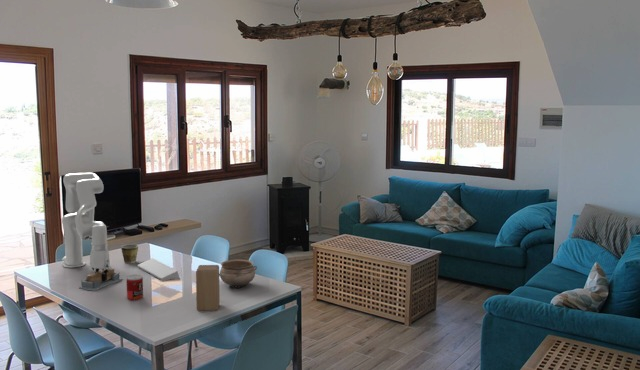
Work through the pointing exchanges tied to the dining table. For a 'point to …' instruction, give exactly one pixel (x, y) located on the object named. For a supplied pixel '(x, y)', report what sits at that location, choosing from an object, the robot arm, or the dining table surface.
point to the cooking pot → (237, 272)
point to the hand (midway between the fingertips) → (100, 279)
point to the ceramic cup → (129, 253)
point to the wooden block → (207, 287)
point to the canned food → (134, 287)
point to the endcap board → (99, 285)
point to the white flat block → (159, 270)
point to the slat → (99, 276)
